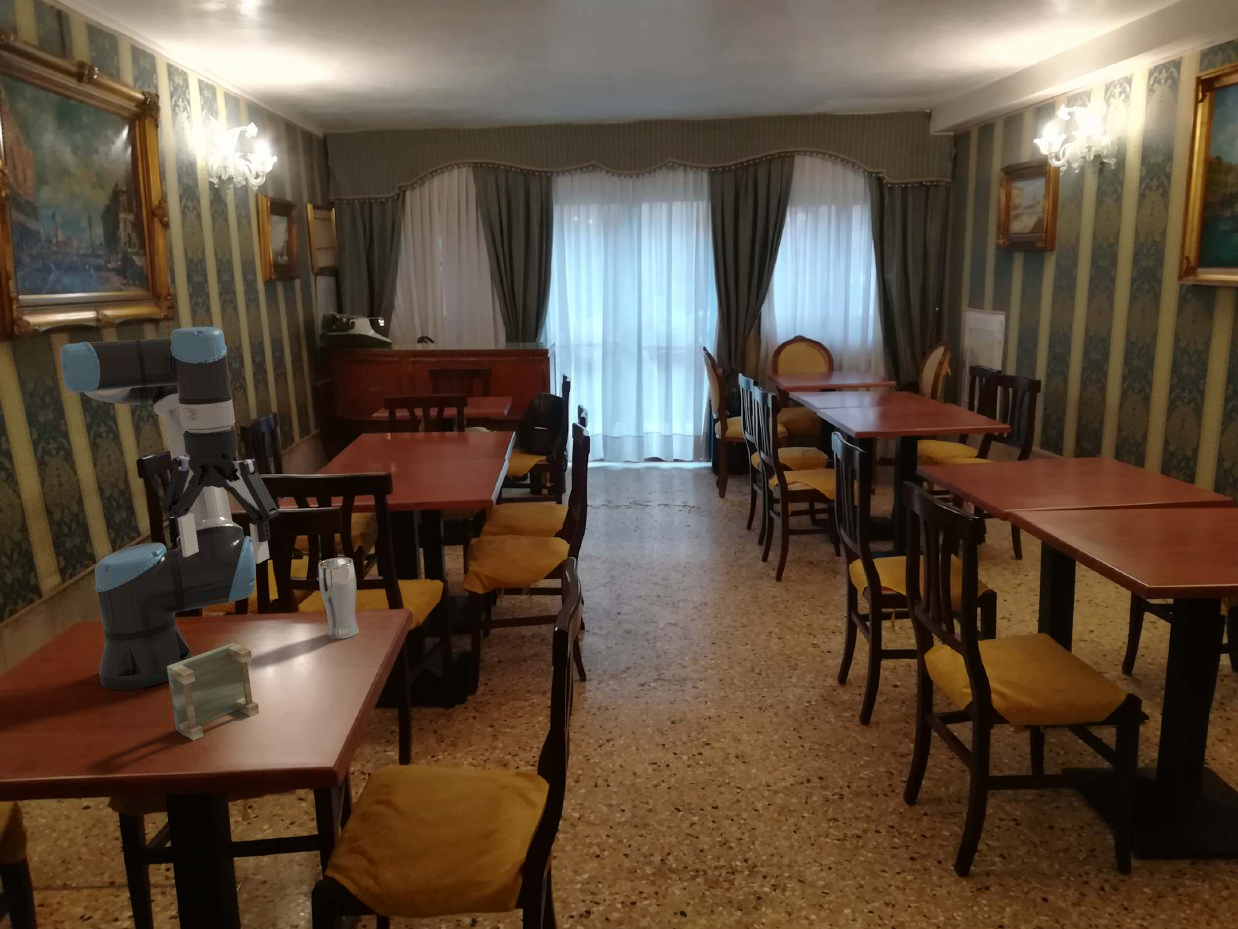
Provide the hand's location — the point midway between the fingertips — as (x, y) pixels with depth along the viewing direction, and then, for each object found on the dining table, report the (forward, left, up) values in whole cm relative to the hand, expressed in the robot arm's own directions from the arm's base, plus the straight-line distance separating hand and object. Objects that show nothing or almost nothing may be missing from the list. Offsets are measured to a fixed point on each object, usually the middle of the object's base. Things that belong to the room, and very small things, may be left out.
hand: (226, 557), depth 143 cm
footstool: (+1, -5, -26) cm, 27 cm away
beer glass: (-14, +29, -27) cm, 41 cm away
